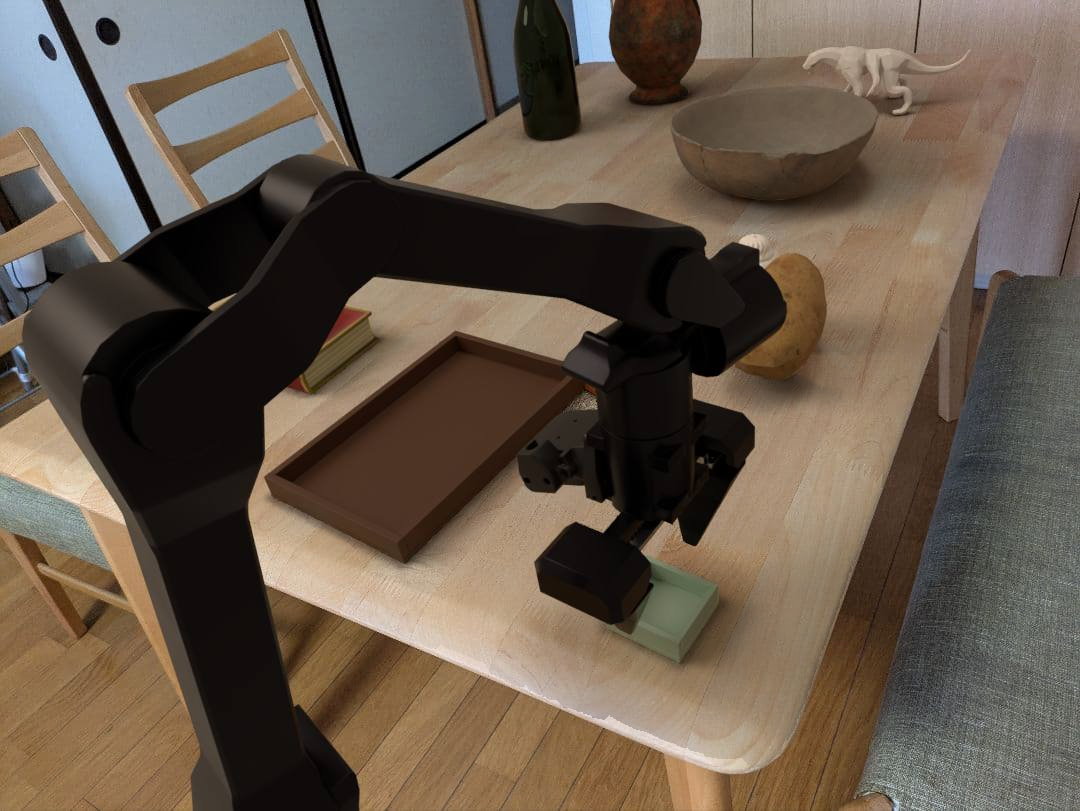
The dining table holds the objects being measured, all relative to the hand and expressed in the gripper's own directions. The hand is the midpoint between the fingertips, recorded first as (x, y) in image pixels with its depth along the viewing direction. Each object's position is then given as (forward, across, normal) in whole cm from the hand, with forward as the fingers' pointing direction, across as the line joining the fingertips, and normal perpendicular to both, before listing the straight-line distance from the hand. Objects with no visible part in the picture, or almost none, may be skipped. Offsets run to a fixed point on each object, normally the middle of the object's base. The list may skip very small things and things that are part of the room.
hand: (659, 584), depth 60 cm
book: (+4, -12, -59) cm, 61 cm away
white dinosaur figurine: (+4, -109, -21) cm, 111 cm away
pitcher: (+4, -107, -59) cm, 122 cm away
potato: (+4, -34, -6) cm, 35 cm away
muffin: (+4, -46, -14) cm, 48 cm away
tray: (+4, -8, -30) cm, 31 cm away
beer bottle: (+4, -85, -71) cm, 111 cm away
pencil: (+4, -20, -15) cm, 25 cm away
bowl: (+4, -76, -25) cm, 80 cm away
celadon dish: (+4, 0, 0) cm, 4 cm away
